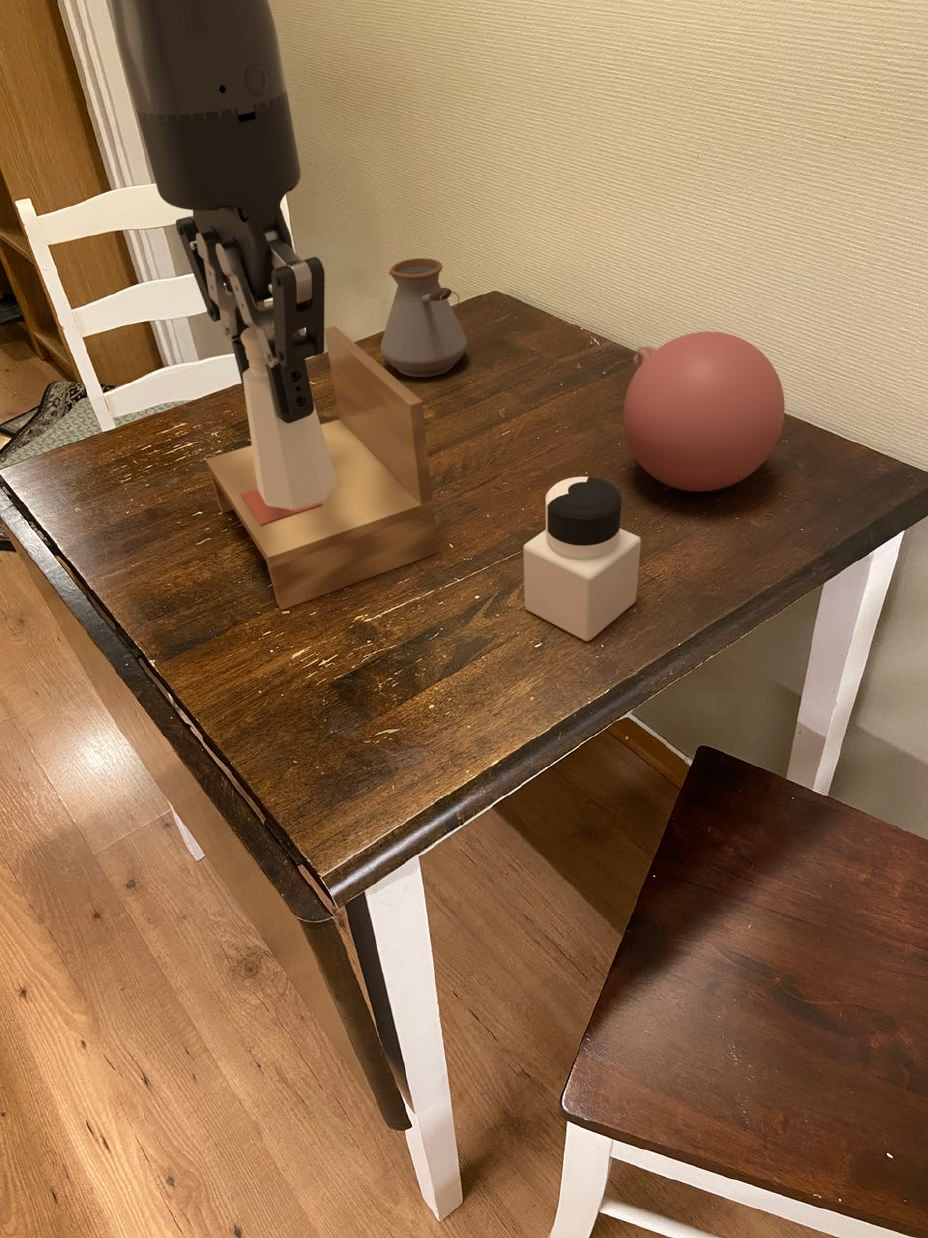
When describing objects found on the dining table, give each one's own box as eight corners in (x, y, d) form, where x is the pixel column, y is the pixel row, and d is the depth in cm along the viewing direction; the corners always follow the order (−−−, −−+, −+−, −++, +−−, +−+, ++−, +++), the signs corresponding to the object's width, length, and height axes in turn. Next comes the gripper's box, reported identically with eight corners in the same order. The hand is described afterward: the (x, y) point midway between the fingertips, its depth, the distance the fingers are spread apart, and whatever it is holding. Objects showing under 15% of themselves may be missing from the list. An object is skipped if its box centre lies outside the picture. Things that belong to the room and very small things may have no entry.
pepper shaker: (341, 464, 61) (313, 308, 54) (335, 507, 57) (304, 344, 50) (263, 470, 61) (225, 315, 54) (252, 514, 57) (209, 352, 50)
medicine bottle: (637, 602, 78) (647, 485, 70) (587, 644, 74) (592, 526, 66) (573, 571, 82) (575, 458, 74) (523, 609, 78) (520, 494, 70)
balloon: (705, 414, 103) (722, 281, 93) (800, 503, 88) (832, 356, 78) (581, 439, 100) (585, 305, 90) (657, 534, 85) (671, 386, 75)
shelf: (281, 610, 80) (241, 455, 70) (219, 508, 94) (178, 366, 83) (437, 553, 85) (422, 400, 75) (357, 464, 99) (334, 325, 89)
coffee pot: (374, 355, 121) (359, 242, 111) (454, 340, 123) (447, 228, 113) (412, 424, 105) (399, 300, 95) (503, 406, 107) (499, 282, 98)
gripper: (88, 88, 47) (178, 387, 58) (200, 124, 38) (280, 470, 49) (217, 64, 50) (278, 352, 61) (348, 92, 41) (392, 424, 52)
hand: (279, 403), depth 55 cm, fingers closed on pepper shaker, 4 cm apart
